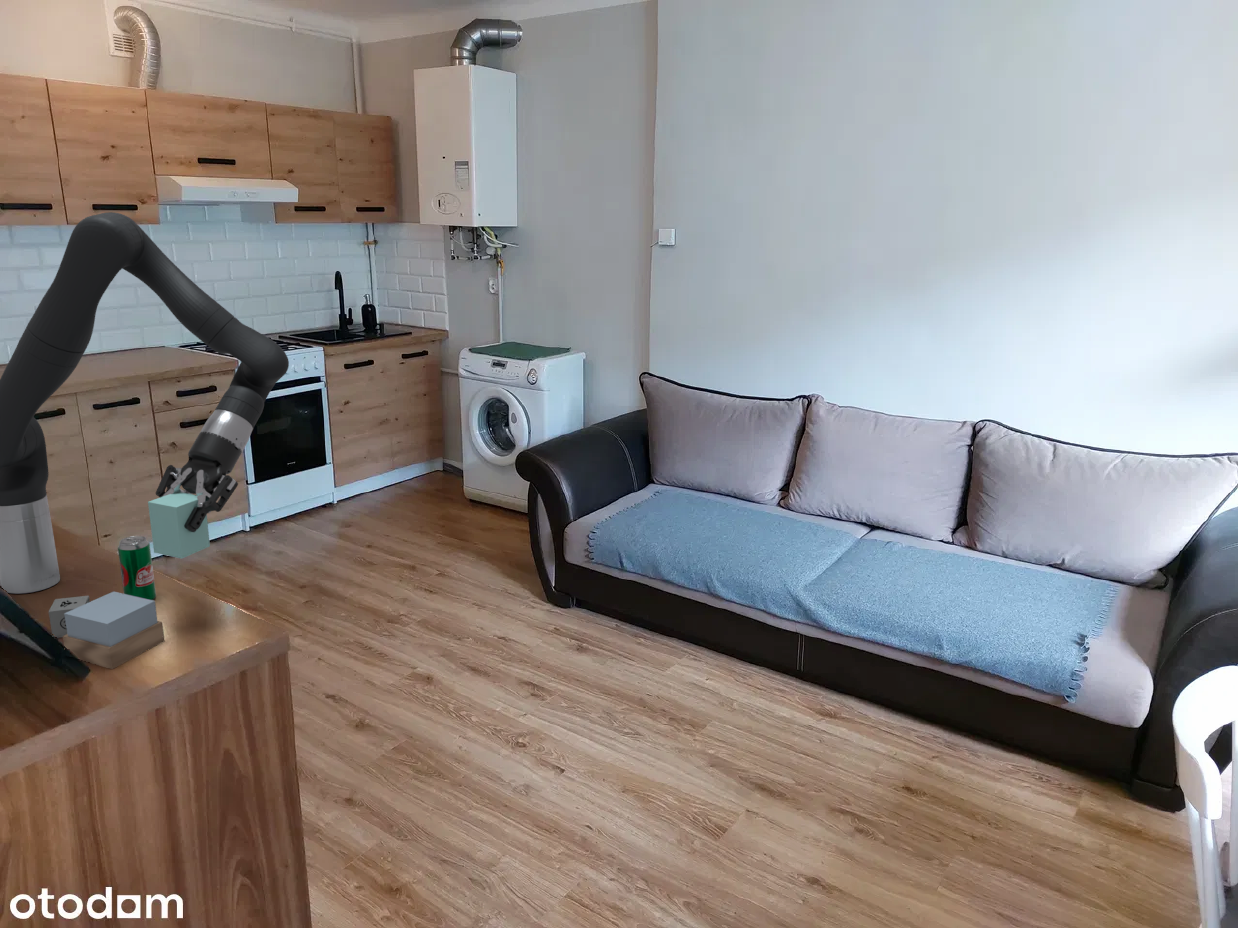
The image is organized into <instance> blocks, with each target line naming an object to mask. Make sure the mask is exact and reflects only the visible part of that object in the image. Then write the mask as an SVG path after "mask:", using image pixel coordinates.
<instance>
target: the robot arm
mask: <svg viewBox="0 0 1238 928" xmlns="http://www.w3.org/2000/svg"><path fill="white" fill-rule="evenodd" d="M121 270H125V272H127V273H129V274H130V275H132V276H134V277H135V278H137V279H138V280H139V281H141V282H142V283H143V284H145V285H146V286H147V287H148V288H149V289H151V291H153V292H154V293H155V294H156V295H157V297H159V299H160V300H161V301H162V302H163V303H164V305H165V306H166V307H167V308H168V310H169V311H170V312H171V313H172V315H173V316H174V317H175V318H176V320H177V321H178V322H179V323H180V324H181V325H182V326H183V327H184V328H185V329H186V330H187V331H189V332H190V333H191V334H192V335H194V336H195V337H196V338H197V339H199V340H200V341H201V342H203V343H204V344H205V345H206V346H208V347H209V348H210V349H212V351H214V352H216V353H218V354H220V355H225V354H229V355H230V356H232V357H234V358H235V359H237V360H238V361H239V362H240V363H239V365H238V367H237V369H236V371H235V373H234V375H233V376H232V380H231V382H230V384H229V387H228V389H226V391H225V393H224V394H223V395H222V396H221V399H220V400H219V402H218V404H217V406H216V407H215V409H214V411H213V413H211V414H210V416H209V417H208V418H207V420H206V422H204V425H202V428H201V430H200V431H199V434H198V435H197V437H196V439H195V441H194V442H193V444H192V446H190V448H189V451H188V454H187V455H188V461H187V462H186V463H185V464H184V465H183V466H182V467H175V466H174V465H172V464H169V465H168V466H167V467H166V469H165V471H164V473H163V476H162V477H161V480H160V482H159V484H158V486H157V488H156V490H155V496H157V497H158V498H160V497H163V496H166V495H169V494H175V493H180V492H182V493H188V494H193V495H197V499H198V501H197V504H196V505H197V508H196V507H194V509H193V510H192V512H191V514H190V516H189V518H188V519H187V521H186V523H185V525H184V527H185V528H186V529H187V530H189V531H190V532H195V531H196V530H197V529H198V528H199V527H200V526H201V524H202V522H203V520H204V518H205V516H206V515H207V516H208V514H210V513H211V512H214V511H215V512H221V510H222V509H223V508H224V506H225V505H226V504H227V502H228V500H229V499H230V498H231V496H232V495H233V493H234V492H235V490H236V489H237V487H238V486H239V482H238V481H236V480H235V479H234V478H233V477H232V476H230V474H231V473H232V472H233V470H234V468H235V466H236V464H237V462H238V460H239V459H240V456H241V455H242V453H243V451H244V449H245V448H246V446H247V444H248V442H249V440H250V437H251V434H252V432H253V430H254V428H255V426H256V424H257V422H258V420H259V418H260V417H261V415H262V413H263V412H264V411H263V410H264V407H265V402H266V399H267V398H268V396H269V394H271V391H272V389H273V388H274V386H275V385H276V384H277V383H278V381H279V380H281V379H282V378H283V376H285V375H286V374H287V372H288V369H289V366H290V365H289V364H290V361H289V358H288V355H287V353H286V352H285V350H284V349H283V348H282V347H281V346H280V345H279V344H277V342H275V341H274V340H272V339H271V338H269V337H267V336H266V335H264V334H263V333H261V332H259V331H257V330H256V329H254V328H252V327H250V326H248V325H247V324H244V323H242V322H241V321H240V320H239V319H238V318H236V317H235V315H233V314H232V313H231V312H229V311H228V310H227V309H226V308H225V307H224V306H222V305H221V304H220V303H218V302H217V301H216V300H215V299H214V298H212V297H211V296H210V295H209V294H207V293H206V291H204V290H203V289H202V288H201V287H199V286H198V285H197V284H196V283H195V282H194V281H193V280H192V279H190V277H188V275H186V274H185V273H184V271H182V270H181V269H180V268H179V267H178V266H177V265H176V264H175V263H174V262H173V261H172V260H171V259H169V257H168V255H166V254H165V253H164V252H163V251H162V250H161V248H160V247H158V245H157V244H156V243H155V242H154V241H153V240H152V238H151V237H150V236H149V235H148V234H147V233H146V232H145V231H144V230H143V229H142V228H141V227H140V226H139V225H138V224H137V222H135V220H133V219H132V218H130V217H129V216H127V215H125V214H122V213H119V212H113V211H112V212H109V211H108V212H101V213H98V214H93V215H89V216H87V217H85V218H83V219H81V220H80V221H79V222H78V223H77V224H76V225H75V226H74V228H73V229H72V232H71V234H70V236H69V240H68V242H67V245H66V248H65V251H64V254H63V256H62V259H61V261H60V265H59V267H58V270H57V272H56V275H55V277H54V278H53V281H52V283H51V284H50V286H49V287H48V289H47V291H45V294H44V296H43V297H42V299H41V300H40V302H39V304H38V305H37V307H36V309H35V311H34V312H33V315H32V317H31V318H30V320H29V321H28V323H27V325H26V328H24V330H23V332H22V335H21V337H20V338H19V340H18V343H17V345H16V347H15V349H14V351H13V353H12V355H11V357H10V359H9V361H8V363H7V365H6V367H5V369H4V371H3V373H2V375H1V377H0V587H1V589H2V588H3V589H4V590H6V591H7V592H6V593H8V594H29V593H34V592H39V591H42V590H46V589H49V588H51V587H53V586H55V585H56V584H58V583H59V582H60V581H61V576H60V570H59V564H58V563H59V562H58V557H57V556H58V555H57V550H56V543H55V542H56V541H55V537H54V529H53V524H52V518H51V512H50V506H49V499H48V495H47V494H48V493H47V484H48V480H49V475H50V474H49V463H48V455H47V454H48V452H47V445H46V439H45V434H44V431H43V428H42V426H41V425H40V423H39V421H38V420H37V419H36V418H35V417H34V416H35V415H36V413H37V412H38V411H39V409H40V408H41V407H42V405H44V404H45V402H46V401H48V399H49V398H50V397H51V396H52V395H53V394H54V393H55V392H57V390H58V389H59V388H60V387H62V385H63V384H64V383H65V382H66V381H67V380H68V379H69V377H70V376H71V375H72V374H73V372H74V371H75V369H76V368H77V367H78V365H79V363H80V361H81V359H82V357H83V356H84V354H85V351H86V349H87V348H88V346H89V343H90V341H91V339H92V335H93V332H94V327H95V321H96V320H95V319H96V315H97V309H98V307H99V303H100V301H101V300H102V298H103V295H104V294H105V293H106V291H107V289H108V288H109V286H110V285H111V283H112V281H114V279H115V277H116V276H117V275H118V273H119V272H120V271H121ZM180 487H181V488H180Z"/></svg>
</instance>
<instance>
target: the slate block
mask: <svg viewBox="0 0 1238 928" xmlns="http://www.w3.org/2000/svg"><path fill="white" fill-rule="evenodd" d="M64 615H65V621H66V628H67V634H68V636H69V637H73V638H77V639H81V640H85V641H89V642H93V643H97V644H101V645H105V646H109V647H111V646H113V645H115V644H117V643H119V642H121V641H123V640H125V639H127V638H129V637H131V636H133V635H135V634H137V633H139V632H141V631H143V630H145V629H147V628H149V627H150V626H152V625H154V624H156V623H158V621H159V620H158V616H157V615H158V614H157V606H156V601H155V600H149V599H144V598H140V597H136V596H131V595H127V594H124V593H121V592H118V591H111V592H110V593H107V594H104V595H103V596H100V597H98V598H96V599H94V600H91V601H90V602H89V603H87V604H84V605H82V606H80V607H78V608H75V609H73V610H71V611H69V612H67V613H64Z"/></svg>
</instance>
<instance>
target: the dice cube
mask: <svg viewBox="0 0 1238 928" xmlns="http://www.w3.org/2000/svg"><path fill="white" fill-rule="evenodd" d="M89 602H91V601H90V595H83V596H82V595H81V596H72V597H62V598H55V599H54V600H53V603H52V605H51V607H50V608H49V609H48V617H49V623H50V631H51V635H52V634H54V635H55V636H56V637H57V638H56V639H58V638H63V636H64V635H66V634H67V628H66V621H65V615H64V613H67V612H69V611H71V610H73V609H75V608H78V607H80V606H82V605H84V604H87V603H89Z"/></svg>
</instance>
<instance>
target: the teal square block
mask: <svg viewBox="0 0 1238 928" xmlns="http://www.w3.org/2000/svg"><path fill="white" fill-rule="evenodd" d="M197 501H198V499H197V495H196V494H188V493H182V492H180V493H175V494H169V495H166V496H163V497H158V498H155V499H152V500H150V501H147V505H148V513H149V521H150V522H149V523H150V530H151V538H152V545H153V547H152V548H153V553H154V554H159V555H164V556H167V557H168V556H169V557H173V558H177V559H181V560H182V559H184V558H187V557H189V556H192V555H193V554H196V553H198V552H200V551H203V550H205V549H207V548H209V547H211V542H210V535H209V533H210V532H209V523H208V514H207V515H206V516H205V518H204V520H203V522H202V524H201V526H200V527H199V528H198V529H197V530H196V531H195V532H190V531H189V530H187V529H186V528H185V527H184V525H185V523H186V521H187V519H188V518H189V516H190V514H191V512H192V510H193V509H194V507H196V508H197V505H196V504H197Z"/></svg>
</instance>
